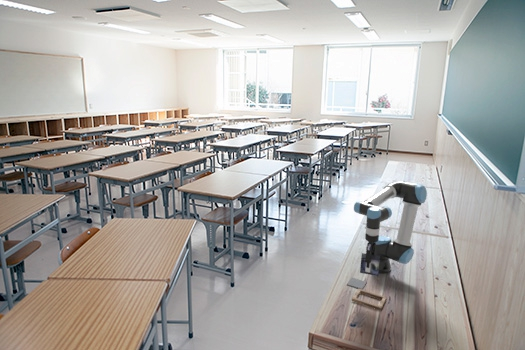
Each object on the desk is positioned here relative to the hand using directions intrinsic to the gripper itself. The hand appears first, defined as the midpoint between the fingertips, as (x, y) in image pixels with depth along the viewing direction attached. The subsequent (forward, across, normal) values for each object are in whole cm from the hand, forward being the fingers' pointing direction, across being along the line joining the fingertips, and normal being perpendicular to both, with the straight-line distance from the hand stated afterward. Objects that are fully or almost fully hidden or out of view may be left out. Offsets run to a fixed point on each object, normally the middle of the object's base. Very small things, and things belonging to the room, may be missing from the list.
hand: (369, 268), depth 204 cm
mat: (+19, -10, -9) cm, 23 cm away
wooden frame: (+18, +4, +2) cm, 19 cm away
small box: (+2, 0, 0) cm, 2 cm away
